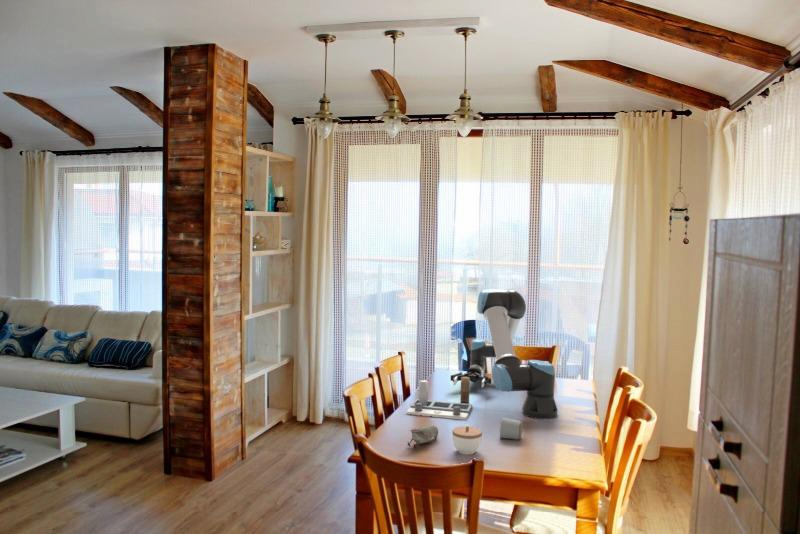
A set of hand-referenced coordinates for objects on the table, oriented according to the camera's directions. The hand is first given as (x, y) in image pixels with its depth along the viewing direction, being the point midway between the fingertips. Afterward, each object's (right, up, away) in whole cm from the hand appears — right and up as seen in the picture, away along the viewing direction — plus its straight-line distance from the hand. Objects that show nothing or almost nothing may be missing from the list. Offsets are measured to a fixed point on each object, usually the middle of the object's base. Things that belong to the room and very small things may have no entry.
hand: (468, 383), depth 289 cm
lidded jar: (-9, -11, -70) cm, 72 cm away
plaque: (-17, -8, -28) cm, 33 cm away
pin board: (-14, -8, -19) cm, 25 cm away
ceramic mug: (+10, -11, -54) cm, 56 cm away
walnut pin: (-3, -7, -9) cm, 12 cm away
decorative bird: (-24, -11, -63) cm, 68 cm away
